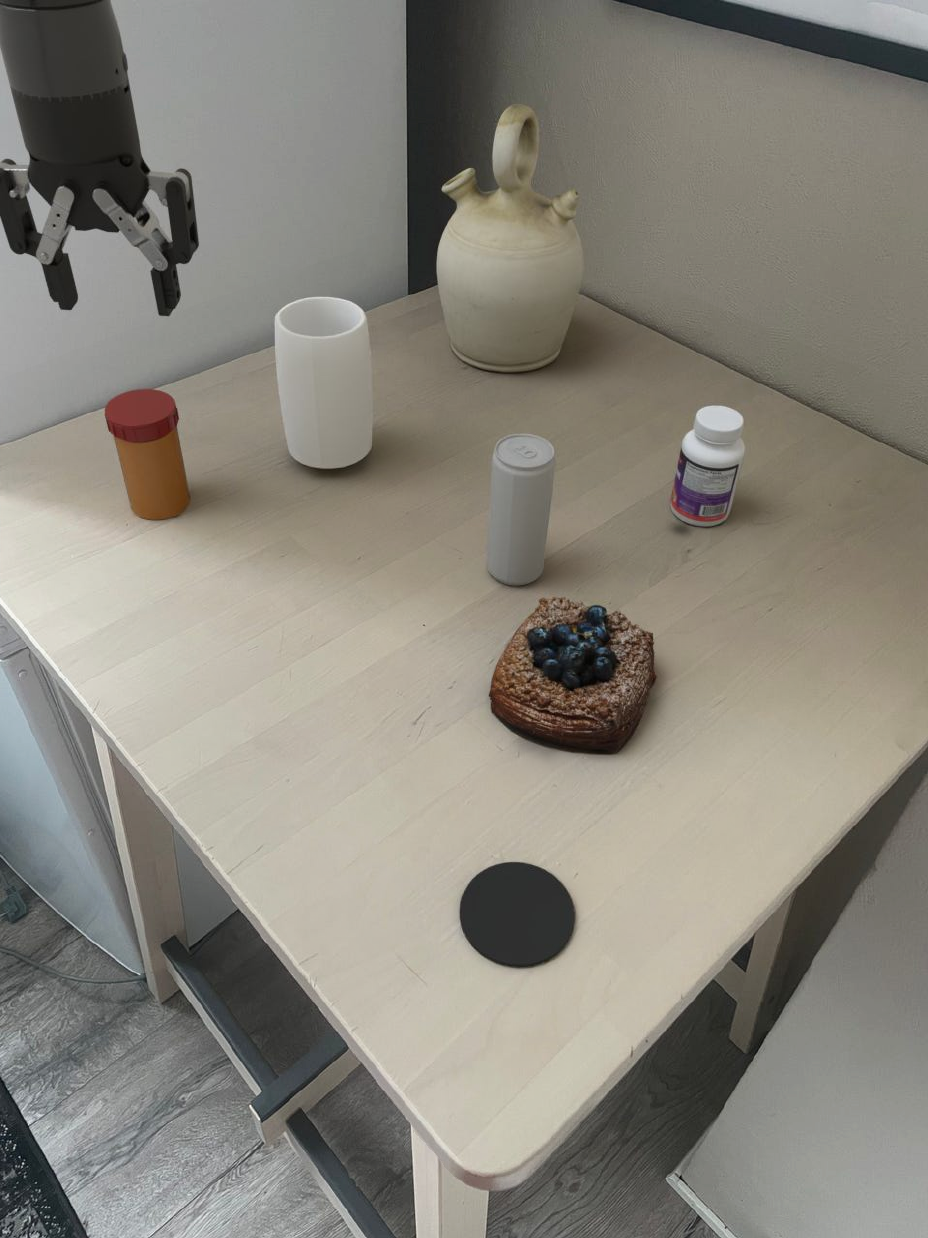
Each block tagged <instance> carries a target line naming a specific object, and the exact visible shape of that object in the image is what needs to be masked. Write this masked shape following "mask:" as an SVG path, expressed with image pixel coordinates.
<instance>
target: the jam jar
mask: <svg viewBox="0 0 928 1238" xmlns="http://www.w3.org/2000/svg"><path fill="white" fill-rule="evenodd" d="M112 436H113V440H114V444H115V448H116V453H117V456H118V461H119V465H120V469H121V473H122V477H123V482H124V485H125V490H126V493H127V498H128V502H129V506H130V510H131V511H132V513H134V514H135V515H136V516H137V517H139V518H143V519H146V520H153V521H159V520H166V519H170V518H173V517H176V516H178V515H180V514H181V513H183V512H184V511H185V510H186V509H188V507H189V505H190V503H191V494H190V489H189V484H188V477H187V473H186V467H185V462H184V457H183V452H182V446H181V441H180V437H179V436H180V435H179V431H178V425H177V426H176V427H175V429H174V430H173V431H172V432H170V433H169V434H167V435H165V436H163V437H161V438H158V439H155V440H151V441H145V442H130V441H125V440H121V439H119V438H117V437H114V435H112Z"/></svg>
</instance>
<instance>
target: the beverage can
mask: <svg viewBox="0 0 928 1238" xmlns="http://www.w3.org/2000/svg"><path fill="white" fill-rule="evenodd" d="M555 453H556V452H555V447H554V446H553V445H552V443H551V442H550V441H548V440H547V439H546V438H544V437H542V436H539V435H536V434H531V433H512V434H509V435H506V436H503V437H502V438H500V439H499V440H498V441H497V442H496V443H495V445H494V451H493V454H492V459H491V478H490V479H491V480H490V493H489V512H488V528H487V546H486V547H487V549H486V568H487V570H488V572H489V574H490V575H491V576H492V577H493V578H494V579H495V580H496V581H498V582H500V583H502V584H504V585H508V586H514V587H515V586H517V587H519V586H525V585H528V584H531V583H533V582H534V581H536V580H537V579H538V578H539V577H541V575H542V573H543V571H544V564H545V558H546V557H545V556H546V550H547V549H546V548H547V540H548V533H549V523H550V514H551V508H552V507H551V506H552V496H553V487H554V479H555V469H556V457H555Z"/></svg>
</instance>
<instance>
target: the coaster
mask: <svg viewBox="0 0 928 1238" xmlns="http://www.w3.org/2000/svg"><path fill="white" fill-rule="evenodd" d="M459 921H460V927H461V929H462V932H463V934H464V936H465V938H466V940H467V942H468V943H469V944H470V945H471V946H472V947H473V949H474V950H475V951H476V952H478V954H480V955H481V956H482V957H484V958H485V959H487V960H489V961H491V962H492V963H495V964H498V965H499V966H500V965H501V966H504V967H509V968H518V969H520V968H521V969H522V968H523V969H524V968H530V967H531V968H532V967H536V966H539V965H542V964H545V963H547V962H549V961H550V960H552V959H554V958H555V957H556V956H557V955H559V954H560V953H561V952H562V951H563V950H564V949H565V947H566V946H567V945H568V944H569V941H570V939H571V937H572V936H573V931H574V927H575V921H576V913H575V906H574V901H573V899H572V896H571V895H570V893H569V891H568V890H567V888H566V887H565V885H564V884H563V883H562V881H560V880H559V878H558V877H557V876H555V875H554V874H553V873H551V872H550V871H548V870H546V869H545V868H542V867H541V866H538V865H536V864H532V863H527V862H522V861H521V862H520V861H506V862H499V863H496V864H494V865H491V866H489V867H487V868H485V869H483V870H482V871H480V872H479V873H477V874H476V875H475V876H474V877H473V878H472V879H471V880H470V881H469V882H468V883H467V885H466V887H465V889H464V891H463V893H462V895H461V898H460V903H459Z"/></svg>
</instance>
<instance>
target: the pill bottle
mask: <svg viewBox="0 0 928 1238" xmlns="http://www.w3.org/2000/svg"><path fill="white" fill-rule="evenodd" d="M744 421H745V420H744V417H743V415H742V414H741V413H740V412H738V411H737V410H736V409H733V408H731V407H728V406H724V405H707V406H703V407H702V408H700V409H699V410H697V412H696V414H695V418H694V423H693V429H691V430H689V431H688V432H687V433H686V434H685V435H684V437H683V439H682V442H681V446H680V450H679V456H678V461H677V465H676V471H675V476H674V480H673V486H672V490H671V496H670V503H669V504H670V509H671V512H672V513H673V514H674V516H675V517H676V518H677V519H679V520H680V521H682V522H684V523H686V524H689V525H691V526H696V527H702V528H703V527H705V528H707V527H715V526H717V525H720V524H722V523H724V522H725V521H726V520H727V519H728V517H729V515H730V512H731V509H732V506H733V501H734V498H735V493H736V489H737V486H738V482H739V477H740V474H741V470H742V467H743V462H744V459H745V458H744V457H745V453H746V447H745V443H744V441H743V439H742V438H741V436H742V433H743V428H744Z"/></svg>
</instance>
